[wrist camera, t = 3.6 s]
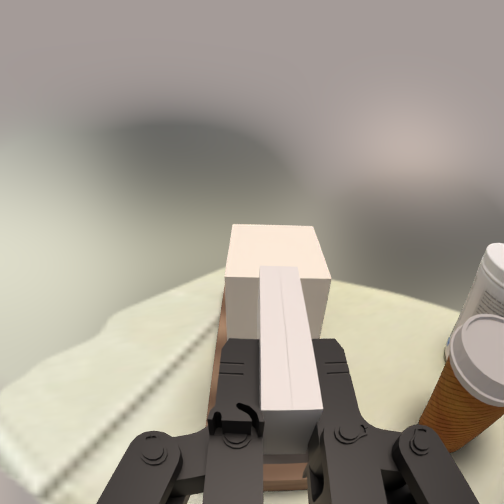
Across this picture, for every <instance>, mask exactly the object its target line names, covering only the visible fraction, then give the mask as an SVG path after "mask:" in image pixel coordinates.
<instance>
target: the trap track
mask: <svg viewBox="0 0 504 504" xmlns="http://www.w3.org/2000/svg"><path fill="white" fill-rule="evenodd" d="M226 342H227V327H226V303H225V287H224V293H223V300H222V307H221V314H220V321H219V329H218V336H217V343H216V350H215V358H214V365H213V373H212V381H211V388H210V396H209V404H208V412H207V417H208V415H209V412H210V410H211V409H212V408H213V407H214V406H215V402H216V393H217V384H218V375H219V366H220V358H221V349H222V348H223V346H224V345H225V343H226ZM207 425H208V423H207V420H206V426H207ZM308 461H309V454H308V448H307V451H306V453H304V454H263V491H285V490H304V489H308V485H307V477H306V478H302V476H303V471H304V469H305V467H306V465H307V463H308Z"/></svg>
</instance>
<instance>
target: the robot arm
mask: <svg viewBox="0 0 504 504" xmlns="http://www.w3.org/2000/svg"><path fill="white" fill-rule="evenodd" d="M207 423H208V425H207V426H206V427H205V428H204V429H202V430H201V431H199V432H196V433H193V434H189V435H184V436H178V437H171V436H169V435H168V434H166V433H164V432H159V431H149V432H144V433H142V434H140V435H138V436H136V438H135V439H134V440H133V441H132V442H131V443H130V445H129V447H128V449H127V450H126V452H125V454H124V456H123V457H122V459H121V461H120V463H119V465H118V466H117V468H116V470H115V472H114V473H113V475H112V477H111V479H110V480H109V482H108V484H107V486H106V488H105V489H104V491H103V493H102V495H101V496H100V498H99V500H98V502H97V504H187V502H188V500H189V497H190V495H192V494H198V493H203V492H204V494H203V504H263V454H304V453H306V451H307V448H308V454H309V461H308V463H307V465H306V467H305V469H304V471H303V476H302V478H306V477H307V485H308V499H309V504H479V502H478V500H477V499H476V497H475V495H474V493H473V492H472V490H471V488H470V487H469V485H468V483H467V481H466V480H465V478H464V476H463V475H462V473H461V471H460V470H459V468H458V466H457V465H456V463H455V461H454V460H453V458H452V457H451V455H450V453H449V452H448V450H447V448H446V447H445V445H444V444H443V442H442V440H441V439H440V437H439V436H438V434H437V433H436V432H435V431H434V430H433V429H432V428H430V427H428V426H426V425H418V424H417V425H413V426H410V427H408V428H407V429H405V430H404V431H403V432H395V431H388V430H382V429H379V428H375V427H374V426H372V425H370V424H369V423H368V422H366V421H365V420H364V418H363V417H362V416H361V414H360V411H359V408H358V404H357V400H356V396H355V392H354V388H353V384H352V380H351V376H350V374H349V368H348V364H347V361H346V357H345V353H344V349H343V348H342V347H341V346H340V344H339V343H338V342H337V341H336V340H335V339H311V334H310V328H309V323H308V318H307V312H306V307H305V302H304V297H303V292H302V286H301V281H300V276H299V271H298V267H291V266H260V271H259V290H258V309H257V339H238V338H229V339H228V341H227V342H226V343H225V345H224V346H223V348H222V349H221V358H220V366H219V375H218V384H217V393H216V402H215V406H214V407H213V408H212V409H211V410H210V412H209V415H208V417H207Z"/></svg>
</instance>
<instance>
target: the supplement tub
mask: <svg viewBox="0 0 504 504" xmlns="http://www.w3.org/2000/svg"><path fill="white" fill-rule="evenodd" d="M478 314H493V315H498V316H500V317H503V318H504V244H502V243H493V244H490V245H489V246H488V247H487V249H486V251H485V254H484V256H483V257H482V260H481V263H480V265H479V268H478V271H477V274H476V277H475V279H474V282H473V284H472V287H471V290H470V292H469V294H468V297H467V299H466V302H465V304H464V306H463V309H462V311H461V313H460V315H459V318H458V320H457V322H456V324H455V326H454V329H453V331H452V333H451V335H450V337H449V339H448V341H447V343H446V347H445V356H446V360H447V359H448V356H449V351H450V341H451V338H452V336H453V333H454V332H455V330H456V329H457V328H458V327H460V326H461V325H463V324H464V323H465V322H466V321H467V320H468V319H469V318H470V317H472V316H474V315H478Z"/></svg>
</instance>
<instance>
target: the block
mask: <svg viewBox="0 0 504 504" xmlns="http://www.w3.org/2000/svg"><path fill="white" fill-rule="evenodd" d="M260 266H291V267H298V271H299V276H300V281H301V286H302V292H303V297H304V302H305V307H306V312H307V318H308V323H309V328H310V334H311V339H319V338H320V334H321V329H322V324H323V319H324V315H325V310H326V305H327V300H328V294H329V289H330V284H331V276H330V273H329V270H328V267H327V264H326V262H325V259H324V256H323V253H322V250H321V247H320V245H319V242H318V239H317V236H316V234H315V231H314V228H313V226H288V225H249V224H233V227H232V233H231V239H230V245H229V251H228V258H227V264H226V270H225V303H226V327H227V341H228V339H229V338H238V339H257V309H258V290H259V271H260Z"/></svg>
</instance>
